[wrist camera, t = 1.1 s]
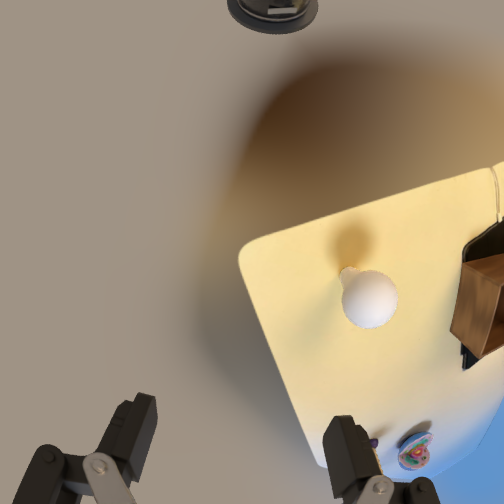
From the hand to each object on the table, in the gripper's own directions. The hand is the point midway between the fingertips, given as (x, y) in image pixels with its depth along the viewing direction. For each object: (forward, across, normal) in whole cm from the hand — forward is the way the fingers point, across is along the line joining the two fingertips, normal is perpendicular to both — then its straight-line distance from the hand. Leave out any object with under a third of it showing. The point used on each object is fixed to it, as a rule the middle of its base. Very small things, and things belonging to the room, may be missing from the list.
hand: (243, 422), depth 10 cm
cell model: (+24, -47, +41) cm, 67 cm away
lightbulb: (+24, -13, 0) cm, 27 cm away
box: (+24, -42, 0) cm, 48 cm away
